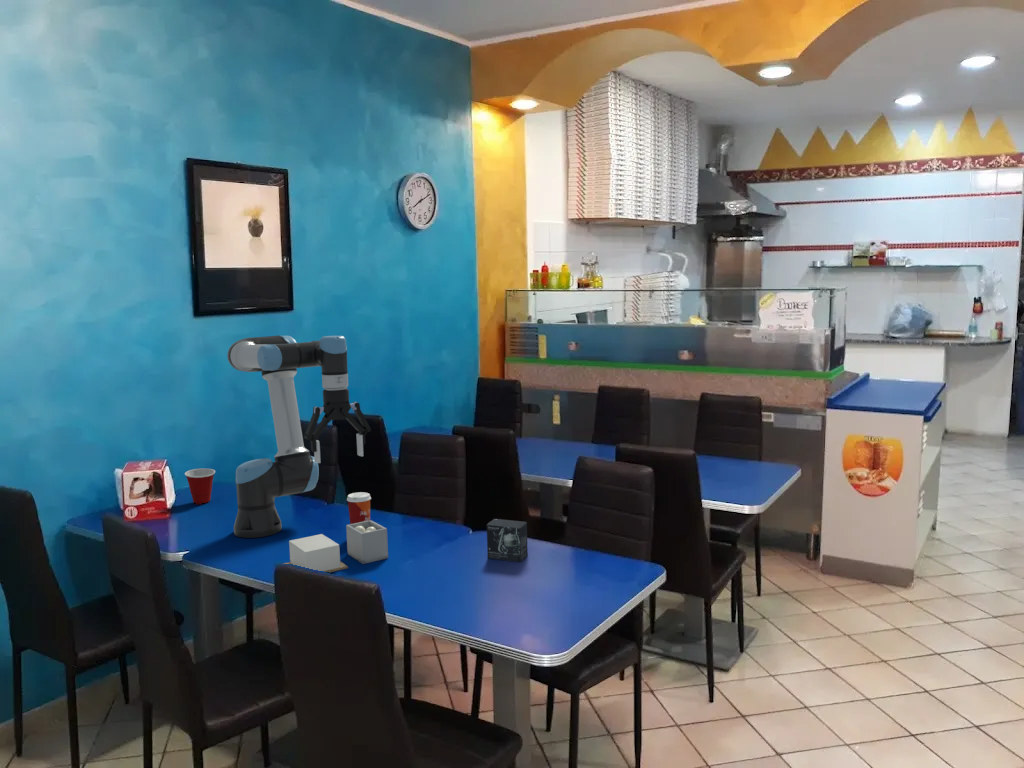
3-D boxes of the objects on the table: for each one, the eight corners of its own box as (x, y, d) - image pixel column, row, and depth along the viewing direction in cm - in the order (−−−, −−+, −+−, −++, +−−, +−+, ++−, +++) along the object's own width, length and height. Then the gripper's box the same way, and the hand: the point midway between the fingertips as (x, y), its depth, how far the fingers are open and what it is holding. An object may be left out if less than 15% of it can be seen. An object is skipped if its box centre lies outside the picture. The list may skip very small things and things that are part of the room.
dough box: (347, 554, 249) (346, 525, 248) (372, 548, 254) (370, 520, 252) (363, 563, 240) (361, 533, 239) (388, 558, 245) (386, 528, 243)
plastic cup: (195, 508, 305) (193, 476, 303) (181, 503, 312) (179, 472, 310) (223, 501, 313) (220, 470, 311) (208, 497, 320) (206, 466, 318)
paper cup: (367, 541, 260) (365, 498, 259) (344, 540, 262) (342, 497, 260) (376, 534, 268) (374, 491, 266) (354, 533, 269) (352, 491, 268)
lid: (290, 562, 241) (289, 540, 240) (323, 555, 247) (321, 533, 246) (306, 575, 230) (305, 552, 230) (340, 567, 236) (339, 544, 235)
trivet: (283, 565, 240) (282, 563, 240) (328, 555, 248) (328, 553, 248) (300, 579, 229) (300, 577, 229) (347, 568, 237) (347, 566, 237)
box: (486, 559, 242) (485, 524, 240) (495, 552, 248) (494, 518, 246) (520, 562, 238) (519, 527, 237) (528, 555, 244) (527, 521, 243)
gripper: (299, 393, 235) (303, 467, 237) (379, 385, 249) (382, 455, 251) (290, 391, 241) (294, 462, 243) (369, 383, 255) (372, 451, 258)
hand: (339, 459), depth 247 cm, fingers open, 13 cm apart
